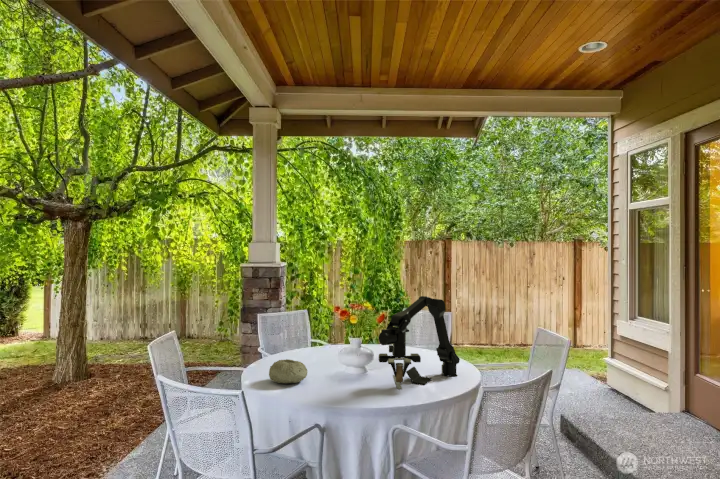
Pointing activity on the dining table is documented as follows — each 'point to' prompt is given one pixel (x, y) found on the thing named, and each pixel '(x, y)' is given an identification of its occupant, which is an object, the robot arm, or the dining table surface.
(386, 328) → the robot arm
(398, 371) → the tapered tan cylinder
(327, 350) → the dining table surface
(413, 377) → the handheld gaming console
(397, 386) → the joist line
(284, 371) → the olive green stone
